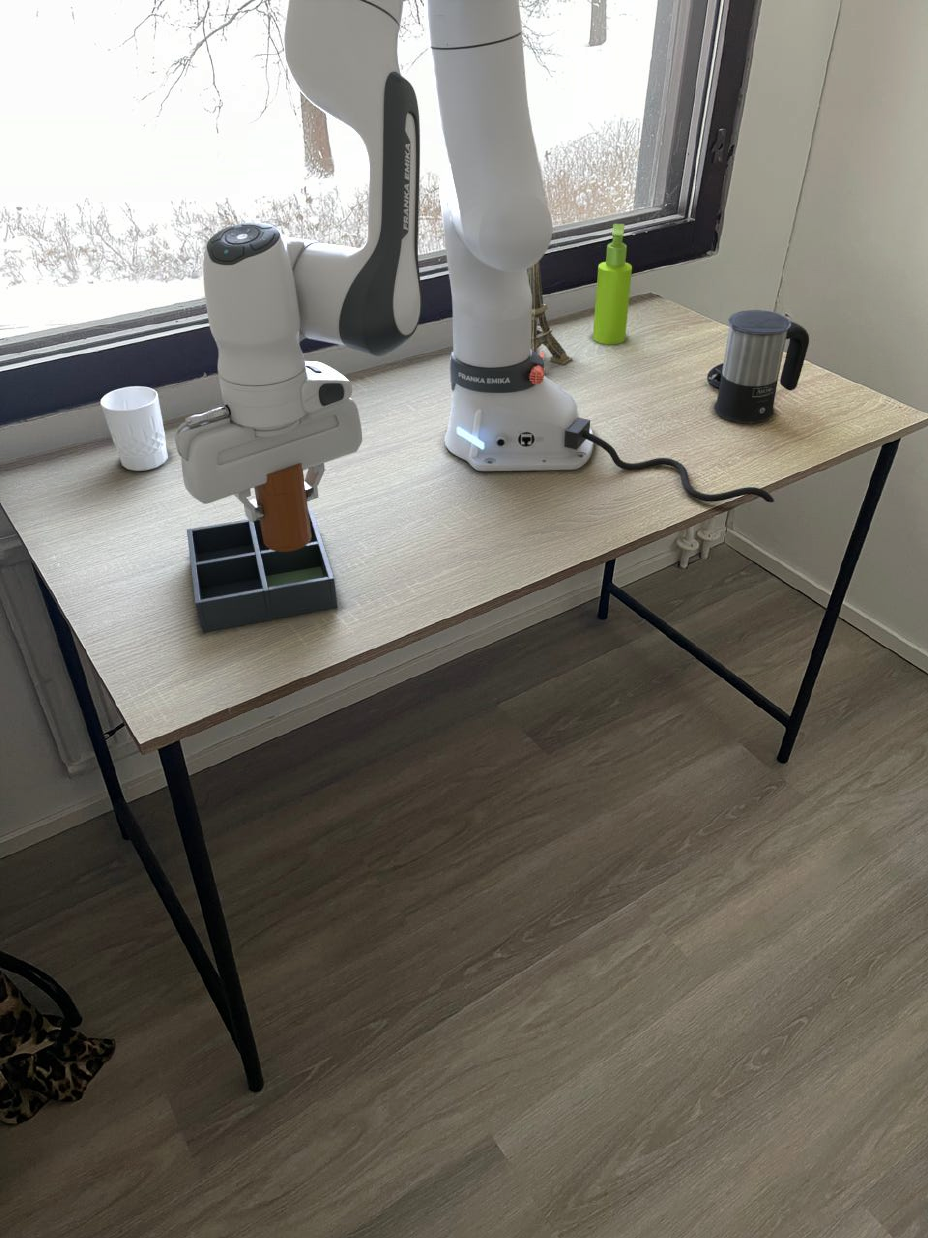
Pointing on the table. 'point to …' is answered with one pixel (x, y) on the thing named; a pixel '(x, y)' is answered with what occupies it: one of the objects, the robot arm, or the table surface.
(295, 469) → the jar
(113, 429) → the white cup
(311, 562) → the compartment tray
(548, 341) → the eiffel tower
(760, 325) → the milk frother
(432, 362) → the table surface
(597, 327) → the soap dispenser
